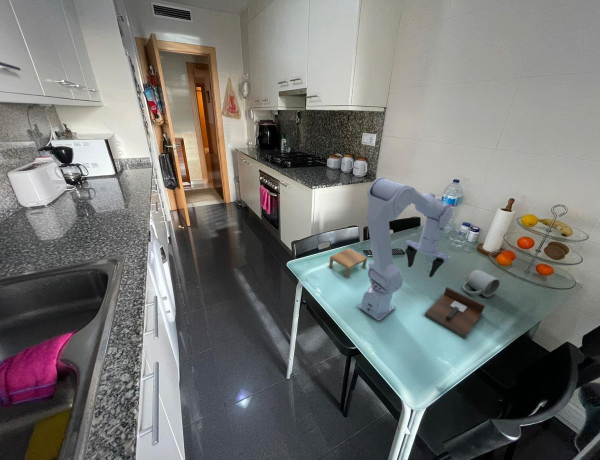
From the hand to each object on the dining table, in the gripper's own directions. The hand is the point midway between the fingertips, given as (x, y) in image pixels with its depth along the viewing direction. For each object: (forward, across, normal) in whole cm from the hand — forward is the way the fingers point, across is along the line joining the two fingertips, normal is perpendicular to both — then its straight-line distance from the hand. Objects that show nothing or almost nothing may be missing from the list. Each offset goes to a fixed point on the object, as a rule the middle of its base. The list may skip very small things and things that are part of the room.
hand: (420, 271), depth 88 cm
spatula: (+8, -14, +1) cm, 16 cm away
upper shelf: (+9, +26, +7) cm, 29 cm away
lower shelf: (+9, -14, +1) cm, 17 cm away
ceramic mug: (+10, -15, -20) cm, 27 cm away
